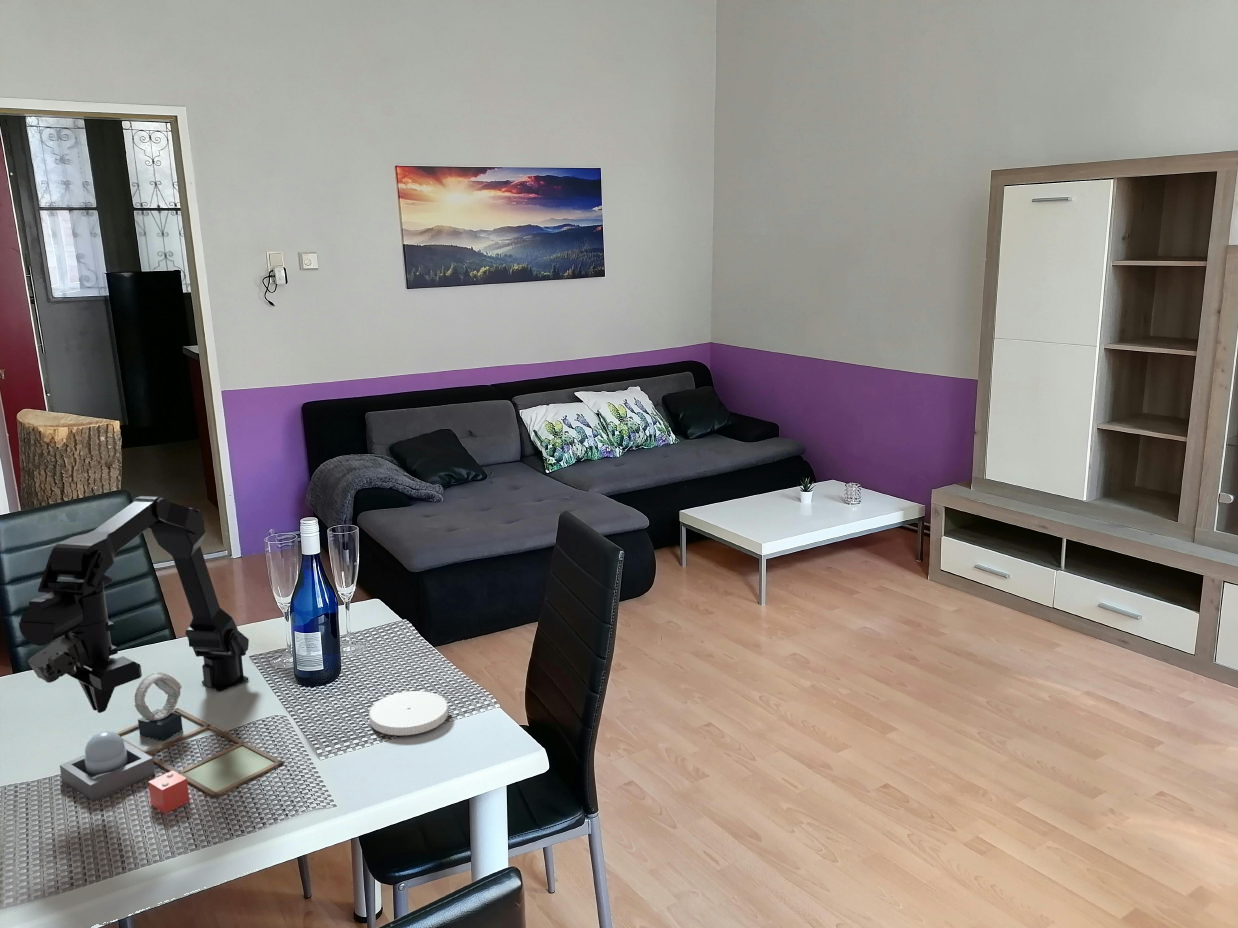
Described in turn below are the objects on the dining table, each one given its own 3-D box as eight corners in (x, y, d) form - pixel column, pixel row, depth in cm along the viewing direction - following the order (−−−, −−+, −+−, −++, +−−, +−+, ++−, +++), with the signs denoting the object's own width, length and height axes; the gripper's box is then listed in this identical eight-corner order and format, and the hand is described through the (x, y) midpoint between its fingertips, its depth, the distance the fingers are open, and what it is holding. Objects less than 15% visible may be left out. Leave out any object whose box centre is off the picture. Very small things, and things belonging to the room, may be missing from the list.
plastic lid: (464, 716, 176) (463, 704, 176) (406, 748, 165) (405, 735, 164) (412, 696, 184) (411, 684, 184) (353, 725, 173) (352, 712, 173)
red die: (175, 792, 151) (172, 769, 150) (189, 801, 149) (186, 777, 148) (151, 804, 148) (148, 780, 147) (165, 813, 146) (162, 789, 145)
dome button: (116, 751, 159) (111, 720, 158) (134, 762, 156) (130, 731, 154) (78, 766, 154) (74, 735, 153) (97, 778, 151) (93, 746, 150)
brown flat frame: (177, 709, 178) (177, 707, 178) (283, 763, 160) (283, 761, 160) (110, 737, 168) (109, 735, 168) (214, 798, 150) (214, 795, 150)
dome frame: (123, 755, 162) (121, 739, 162) (154, 773, 157) (152, 757, 156) (62, 781, 154) (59, 764, 154) (92, 802, 149) (90, 785, 148)
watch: (191, 724, 173) (184, 668, 170) (155, 746, 165) (148, 687, 163) (167, 719, 175) (161, 663, 172) (131, 740, 167) (123, 682, 165)
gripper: (4, 622, 148) (18, 713, 152) (61, 651, 138) (75, 749, 141) (78, 600, 157) (90, 687, 161) (137, 626, 146) (149, 719, 150)
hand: (99, 710), depth 153 cm, fingers closed
